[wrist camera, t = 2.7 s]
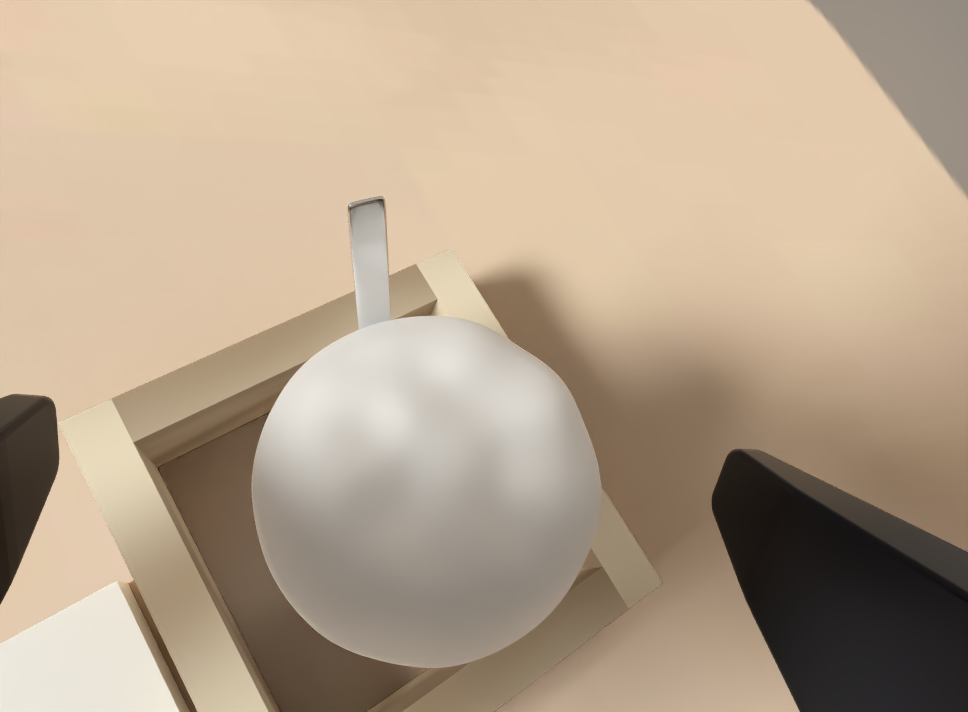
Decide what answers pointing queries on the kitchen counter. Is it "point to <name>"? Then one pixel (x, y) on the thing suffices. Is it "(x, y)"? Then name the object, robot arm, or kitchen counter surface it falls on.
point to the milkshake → (422, 481)
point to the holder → (247, 396)
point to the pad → (89, 661)
